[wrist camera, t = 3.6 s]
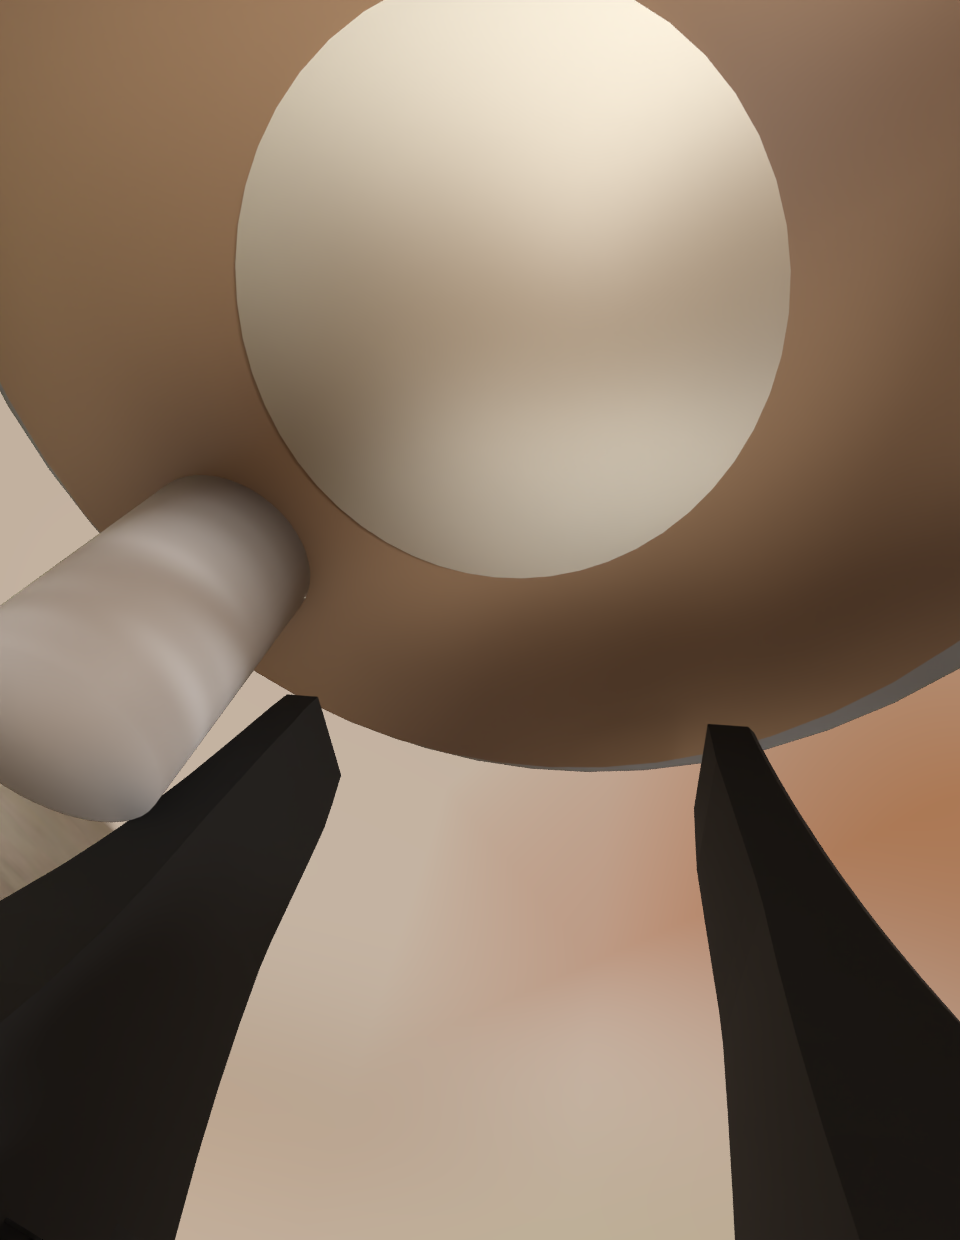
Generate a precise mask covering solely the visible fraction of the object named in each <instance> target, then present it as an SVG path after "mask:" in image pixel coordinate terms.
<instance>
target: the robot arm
mask: <svg viewBox="0 0 960 1240" xmlns="http://www.w3.org/2000/svg"><path fill="white" fill-rule="evenodd" d="M340 777H341V773H340V770H339V767H338V763H337V760H336V756H335V753H334V750H333V746H332V743H331V739H330V736H329V733H328V729H327V726H326V722H325V719H324V715H323V712H322V709H321V705H320V702H319V698H318V697H316V696H302V695H286V696H284V697H283V698H282V699H281V700H279V701H278V702H277V703H275V704H274V705H273V706H272V707H270V708H269V709H268V710H267V711H266V712H264V713H263V714H262V715H261V716H260V717H258V718H257V719H256V720H255V721H254V722H253V723H251V724H250V725H249V726H248V727H247V728H246V729H244V730H243V731H242V732H241V733H240V734H238V735H237V736H236V737H235V738H234V739H232V740H231V741H230V742H229V743H228V744H226V745H225V746H224V747H223V748H221V749H220V750H219V751H218V752H217V753H215V754H214V755H213V756H212V757H210V758H209V759H208V760H207V761H206V762H204V763H203V764H202V765H201V766H199V767H198V768H197V769H196V770H195V771H193V772H192V773H191V774H190V775H189V776H187V777H186V778H185V779H183V780H182V781H181V782H179V783H178V784H177V785H175V786H174V787H173V788H172V789H170V790H169V791H167V792H166V793H165V794H163V795H162V796H161V797H160V799H159V800H158V801H157V803H156V804H155V805H154V806H153V808H152V809H151V810H150V811H149V812H147V813H146V814H144V815H143V816H140V817H138V818H135V819H132V820H129V821H127V822H126V823H125V824H123V825H122V826H120V827H119V828H117V829H116V830H114V831H113V832H112V833H110V834H109V835H107V836H106V837H104V838H103V839H101V840H100V841H98V842H97V843H95V844H94V845H92V846H91V847H89V848H87V849H86V850H84V851H83V852H81V853H80V854H78V855H77V856H75V857H74V858H72V859H71V860H69V861H67V862H66V863H64V864H63V865H61V866H59V867H58V868H56V869H54V870H53V871H51V872H49V873H47V874H46V875H44V876H42V877H41V878H39V879H37V880H35V881H34V882H32V883H30V884H29V885H27V886H25V887H23V888H22V889H20V890H18V891H17V892H15V893H13V894H11V895H10V896H8V897H6V898H4V899H3V900H1V901H0V1240H175V1237H176V1233H177V1230H178V1226H179V1222H180V1218H181V1215H182V1211H183V1208H184V1204H185V1200H186V1196H187V1193H188V1189H189V1185H190V1182H191V1178H192V1174H193V1171H194V1167H195V1163H196V1160H197V1156H198V1153H199V1150H200V1146H201V1143H202V1140H203V1137H204V1133H205V1130H206V1127H207V1123H208V1120H209V1117H210V1113H211V1110H212V1107H213V1104H214V1100H215V1097H216V1094H217V1090H218V1087H219V1084H220V1081H221V1078H222V1075H223V1072H224V1069H225V1066H226V1063H227V1060H228V1057H229V1054H230V1051H231V1048H232V1045H233V1042H234V1039H235V1036H236V1033H237V1030H238V1027H239V1024H240V1021H241V1018H242V1016H243V1013H244V1010H245V1007H246V1005H247V1002H248V999H249V996H250V994H251V991H252V988H253V985H254V982H255V980H256V976H257V974H258V971H259V969H260V966H261V964H262V961H263V959H264V957H265V954H266V952H267V950H268V947H269V945H270V943H271V940H272V938H273V936H274V934H275V932H276V930H277V928H278V926H279V924H280V921H281V919H282V917H283V915H284V913H285V911H286V908H287V906H288V904H289V902H290V900H291V898H292V896H293V894H294V892H295V890H296V887H297V885H298V883H299V881H300V879H301V877H302V875H303V873H304V871H305V869H306V866H307V864H308V862H309V860H310V858H311V856H312V853H313V851H314V849H315V847H316V845H317V842H318V840H319V838H320V836H321V834H322V831H323V829H324V827H325V824H326V821H327V818H328V815H329V812H330V809H331V806H332V803H333V800H334V797H335V793H336V790H337V787H338V783H339V780H340ZM694 818H695V841H696V861H697V873H698V880H699V885H700V892H701V899H702V906H703V912H704V919H705V925H706V931H707V937H708V943H709V949H710V956H711V963H712V969H713V975H714V982H715V988H716V994H717V1000H718V1007H719V1014H720V1022H721V1030H722V1039H723V1049H724V1064H725V1079H726V1093H727V1108H728V1123H729V1140H730V1156H731V1173H732V1189H733V1209H734V1230H735V1240H960V1021H959V1020H958V1019H957V1018H956V1017H955V1015H954V1014H953V1013H952V1012H951V1011H950V1010H949V1009H948V1007H947V1006H946V1005H945V1004H944V1003H943V1002H942V1001H941V1000H940V998H939V997H938V996H937V995H936V994H935V993H934V992H933V990H932V989H931V988H930V987H929V986H928V985H927V984H926V983H925V981H924V980H923V979H922V978H921V977H920V976H919V974H918V973H917V972H916V971H915V969H913V967H912V966H911V965H910V964H909V962H908V961H907V960H906V959H905V957H904V956H903V955H902V954H901V953H900V951H899V950H898V949H897V948H896V947H895V945H894V944H893V943H892V942H891V940H890V939H889V938H888V937H887V935H885V933H884V932H883V930H882V929H881V928H880V927H879V925H878V924H877V923H876V921H875V920H874V919H873V918H872V916H871V915H870V914H869V912H868V911H867V910H866V908H865V907H864V906H863V904H862V903H861V902H860V900H859V899H858V898H857V896H856V895H855V894H854V892H853V891H852V889H851V888H850V887H849V886H848V884H847V883H846V881H845V880H844V879H843V877H842V876H841V874H840V873H839V872H838V870H837V869H836V867H835V866H834V865H833V863H832V861H831V860H830V859H829V857H828V856H827V854H826V853H825V852H824V850H823V848H822V847H821V845H820V844H819V842H818V841H817V839H816V838H815V836H814V835H813V833H812V832H811V830H810V828H809V827H808V825H807V824H806V822H805V821H804V820H803V818H802V816H801V815H800V813H799V812H798V810H797V808H796V807H795V805H794V804H793V802H792V800H791V799H790V797H789V795H788V793H787V792H786V790H785V788H784V787H783V785H782V783H781V782H780V780H779V778H778V777H777V775H776V773H775V771H774V769H773V768H772V766H771V764H770V762H769V761H768V758H767V757H766V755H765V753H764V751H763V749H762V747H761V745H760V743H759V741H758V739H757V737H756V735H755V733H754V732H753V731H752V730H751V729H750V728H749V727H745V726H731V725H717V724H708V725H707V731H706V737H705V743H704V750H703V756H702V762H701V768H700V775H699V781H698V787H697V794H696V800H695V806H694Z"/></svg>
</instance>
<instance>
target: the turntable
mask: <svg viewBox="0 0 960 1240" xmlns="http://www.w3.org/2000/svg"><path fill="white" fill-rule="evenodd" d="M0 383H1V385H2V387H3V389H4V391H5V393H6V395H7V397H8V399H9V400H10V402H11V404H12V405H13V407H14V409H15V410H16V412H17V414H18V415H19V417H20V419H21V420H22V422H23V424H24V425H25V427H26V429H27V430H28V432H29V434H30V435H31V437H32V439H33V440H34V442H35V444H36V445H37V447H38V449H39V450H40V452H41V454H42V455H43V457H44V459H45V460H46V461H47V463H48V464H49V466H50V467H51V468H52V470H53V471H54V473H55V474H56V475H57V477H58V478H59V480H60V481H61V482H62V484H63V485H64V486H65V488H66V489H67V491H68V492H69V493H70V495H71V496H72V498H73V499H74V500H75V502H76V503H77V504H78V506H79V507H80V509H81V510H82V511H83V513H84V514H85V515H86V516H87V518H88V519H89V520H90V521H91V522H92V523H93V525H94V526H95V527H96V528H97V529H98V531H99V532H100V534H98V535H97V536H95V537H94V538H93V539H91V540H90V541H89V542H87V543H86V544H85V545H83V546H82V547H80V548H79V549H77V550H76V551H75V552H73V553H72V554H71V555H69V556H68V557H67V558H65V559H64V560H62V561H61V562H60V563H58V564H57V565H55V566H54V567H53V568H51V569H50V570H49V571H47V572H46V573H44V574H43V575H42V576H40V577H39V578H37V579H36V580H35V581H33V582H32V583H31V584H29V585H28V586H27V587H25V588H24V589H22V590H21V591H20V592H18V593H17V594H15V595H14V596H13V597H11V598H10V599H9V600H7V601H6V602H5V603H3V604H2V605H0V783H1V784H2V785H4V786H5V787H7V788H9V789H10V790H12V791H14V792H16V793H17V794H19V795H21V796H23V797H25V798H27V799H29V800H31V801H33V802H35V803H37V804H39V805H42V806H44V807H46V808H49V809H51V810H54V811H57V812H60V813H62V814H66V815H69V816H73V817H76V818H81V819H86V820H91V821H99V822H121V821H128V820H132V819H135V818H138V817H140V816H143V815H144V814H146V813H147V812H149V811H150V810H151V809H152V808H153V806H154V805H155V804H156V803H157V801H158V800H159V799H160V797H161V796H162V794H163V793H164V792H165V790H166V789H167V788H168V786H169V785H170V783H171V782H172V781H173V779H174V778H175V777H176V775H177V774H178V773H179V771H180V770H181V768H182V767H183V766H184V764H185V763H186V762H187V760H188V759H189V758H190V756H191V755H192V754H193V752H194V751H195V749H196V748H197V747H198V745H199V744H200V743H201V741H202V740H203V739H204V737H205V736H206V734H207V733H208V732H209V730H210V729H211V728H212V726H213V725H214V724H215V722H216V721H217V719H218V718H219V717H220V715H221V714H222V713H223V711H224V710H225V709H226V707H227V706H228V704H229V703H230V702H231V700H232V699H233V698H234V696H235V695H236V693H237V692H238V691H239V689H240V688H241V687H242V685H243V684H244V683H245V681H246V680H247V678H248V677H249V676H250V674H251V673H252V672H253V670H254V671H256V672H257V673H259V674H261V675H262V676H264V677H266V678H267V679H269V680H271V681H273V682H274V683H276V684H278V685H279V686H281V687H283V688H285V689H287V690H288V691H290V692H292V693H293V694H295V695H302V696H316V697H318V698H319V702H320V705H321V708H323V709H325V710H327V711H329V712H331V713H333V714H335V715H337V716H340V717H342V718H344V719H346V720H348V721H350V722H353V723H355V724H358V725H361V726H363V727H366V728H369V729H371V730H374V731H377V732H379V733H382V734H385V735H387V736H390V737H393V738H395V739H399V740H402V741H406V742H410V743H413V744H416V745H420V746H424V747H427V748H431V749H434V750H438V751H442V752H445V753H450V754H455V755H461V756H466V757H471V758H477V759H482V760H488V761H493V762H500V763H510V764H521V765H531V766H542V767H612V766H624V765H635V764H647V763H658V762H663V761H669V760H674V759H680V758H685V757H691V756H696V755H702V754H703V750H704V743H705V737H706V731H707V725H708V724H717V725H731V726H745V727H749V728H750V729H751V730H752V731H753V732H754V733H755V735H756V737H757V739H758V740H760V739H763V738H767V737H771V736H773V735H776V734H779V733H781V732H784V731H786V730H789V729H792V728H794V727H797V726H799V725H802V724H805V723H807V722H810V721H812V720H815V719H818V718H820V717H823V716H826V715H828V714H831V713H833V712H835V711H837V710H839V709H841V708H843V707H845V706H847V705H849V704H851V703H853V702H855V701H857V700H859V699H861V698H863V697H865V696H867V695H869V694H871V693H873V692H875V691H877V690H879V689H881V688H883V687H885V686H887V685H889V684H891V683H893V682H895V681H896V680H898V679H900V678H901V677H903V676H904V675H906V674H908V673H909V672H911V671H912V670H914V669H916V668H917V667H919V666H920V665H922V664H924V663H925V662H927V661H928V660H930V659H932V658H933V657H935V656H936V655H938V654H940V653H941V652H943V651H944V650H946V649H948V648H949V647H951V646H952V645H954V644H956V643H957V642H958V641H960V0H0Z"/></svg>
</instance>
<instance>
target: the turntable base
mask: <svg viewBox="0 0 960 1240" xmlns="http://www.w3.org/2000/svg"><path fill="white" fill-rule="evenodd" d="M0 392H1V394H2V395H3V397H4V399H5V401H6V403H7V404H8V407H9V408H10V410H11V411H12V413H13V414H14V416H15V417H16V419H17V420H18V422H19V423H20V425H21V426H22V428H23V429H24V431H25V433H26V434H27V436H28V437H29V439H30V440H31V442H32V443H33V445H34V447H35V448H36V450H37V451H38V453H39V454H40V456H41V457H42V459H43V460H44V462H45V463H46V465H47V467H48V468H49V470H50V471H51V472H52V474H53V475H54V476H55V477H56V479H57V480H58V481H59V483H60V484H61V485H62V486H63V488H64V489H65V490H66V492H67V493H68V494H69V495H70V493H69V492H68V491H67V489H66V488H65V486H64V485H63V484H62V482H61V481H60V480H59V478H58V477H57V475H56V474H55V473H54V471H53V470H52V468H51V467H50V466H49V464H48V463H47V461H46V460H45V459H44V457H43V455H42V454H41V452H40V450H39V449H38V447H37V445H36V444H35V442H34V440H33V439H32V437H31V435H30V434H29V432H28V430H27V429H26V427H25V425H24V424H23V422H22V420H21V419H20V417H19V415H18V414H17V412H16V410H15V409H14V407H13V405H12V404H11V402H10V400H9V399H8V397H7V395H6V393H5V391H4V389H3V387H2V385H1V383H0ZM70 497H71V498H72V496H71V495H70ZM72 499H73V498H72ZM73 501H74V502H75V500H74V499H73ZM75 503H76V502H75ZM76 505H77V506H78V504H77V503H76ZM78 507H79V506H78ZM79 508H80V507H79ZM80 510H81V509H80ZM81 511H82V510H81ZM82 512H83V511H82ZM83 514H84V513H83ZM84 515H85V514H84ZM85 516H86V515H85ZM86 517H87V516H86ZM87 519H88V518H87ZM88 520H89V519H88ZM89 521H90V520H89ZM90 522H91V521H90ZM91 524H92V525H93V523H92V522H91ZM93 526H94V525H93ZM94 527H95V526H94ZM95 528H96V527H95ZM96 530H98V529H97V528H96ZM98 532H99V531H98ZM99 533H100V532H99ZM959 668H960V641H958V642H957V643H956V644H954V645H952V646H951V647H949V648H948V649H946V650H944V651H943V652H941V653H940V654H938V655H936V656H935V657H933V658H932V659H930V660H928V661H927V662H925V663H924V664H922V665H920V666H919V667H917V668H916V669H914V670H912V671H911V672H909V673H908V674H906V675H904V676H903V677H901V678H900V679H898V680H896V681H895V682H893V683H891V684H889V685H887V686H885V687H883V688H881V689H879V690H877V691H875V692H873V693H871V694H869V695H867V696H865V697H863V698H861V699H859V700H857V701H855V702H853V703H851V704H849V705H847V706H845V707H843V708H841V709H839V710H837V711H835V712H833V713H831V714H828V715H826V716H823V717H820V718H818V719H815V720H812V721H810V722H807V723H805V724H802V725H799V726H797V727H794V728H792V729H789V730H786V731H784V732H781V733H779V734H776V735H773V736H771V737H767V738H763V739H760V740H758V741H759V743H760V745H761V747H762V749H763V750H766V749H769V748H772V747H775V746H779V745H782V744H785V743H788V742H791V741H794V740H798V739H801V738H804V737H808V736H811V735H814V734H817V733H820V732H824V731H827V730H830V729H832V728H834V727H837V726H839V725H842V724H844V723H846V722H849V721H851V720H854V719H856V718H859V717H861V716H863V715H866V714H868V713H871V712H873V711H876V710H878V709H880V708H883V707H885V706H887V705H890V704H892V703H895V702H897V701H899V700H900V699H902V698H904V697H906V696H908V695H910V694H912V693H914V692H915V691H917V690H919V689H921V688H923V687H925V686H927V685H929V684H931V683H933V682H935V681H936V680H938V679H940V678H942V677H944V676H945V675H948V674H950V673H951V672H954V671H955V670H957V669H959ZM376 732H377V731H376ZM412 744H413V743H412ZM415 745H416V744H415ZM418 746H420V745H418ZM421 747H424V746H421ZM424 748H427V747H424ZM428 749H431V748H428ZM432 750H434V749H432ZM436 751H438V750H436ZM440 752H442V751H440ZM444 753H445V752H444ZM449 754H450V753H449ZM453 755H455V754H453ZM457 756H461V755H457ZM702 756H703V754H702V755H696V756H691V757H685V758H680V759H674V760H669V761H663V762H658V763H647V764H635V765H624V766H612V767H542V766H531V765H521V764H510V763H500V762H493V761H488V760H482V759H477V758H471V757H466V756H461V757H465V758H469V759H474V760H478V761H484V762H491V763H498V764H504V765H511V766H518V767H525V768H532V769H548V770H565V771H581V772H582V771H583V772H597V771H631V770H649V769H657V768H665V767H674V766H682V765H691V764H698V763H701V762H702Z"/></svg>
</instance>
